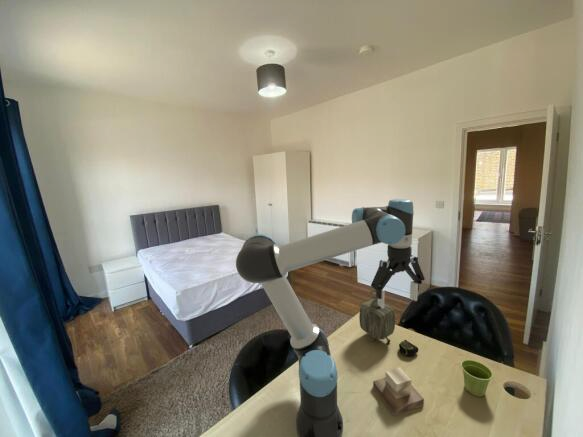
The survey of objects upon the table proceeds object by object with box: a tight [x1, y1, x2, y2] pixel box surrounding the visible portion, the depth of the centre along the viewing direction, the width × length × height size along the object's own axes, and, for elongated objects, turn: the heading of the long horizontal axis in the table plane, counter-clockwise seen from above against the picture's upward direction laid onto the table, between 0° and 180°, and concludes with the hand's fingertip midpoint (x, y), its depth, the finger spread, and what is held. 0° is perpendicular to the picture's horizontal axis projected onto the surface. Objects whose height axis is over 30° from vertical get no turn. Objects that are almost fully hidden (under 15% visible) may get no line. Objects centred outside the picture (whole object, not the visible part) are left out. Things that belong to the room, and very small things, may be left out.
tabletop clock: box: [358, 289, 396, 344], centre depth 119 cm, size 14×9×25 cm, turn 34°
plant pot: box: [460, 359, 494, 397], centre depth 91 cm, size 9×9×9 cm
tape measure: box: [398, 339, 419, 357], centre depth 112 cm, size 7×7×4 cm
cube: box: [385, 367, 412, 399], centre depth 90 cm, size 6×6×6 cm
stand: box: [372, 376, 425, 417], centre depth 91 cm, size 12×12×2 cm
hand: (397, 302), depth 88 cm, fingers open, 13 cm apart
